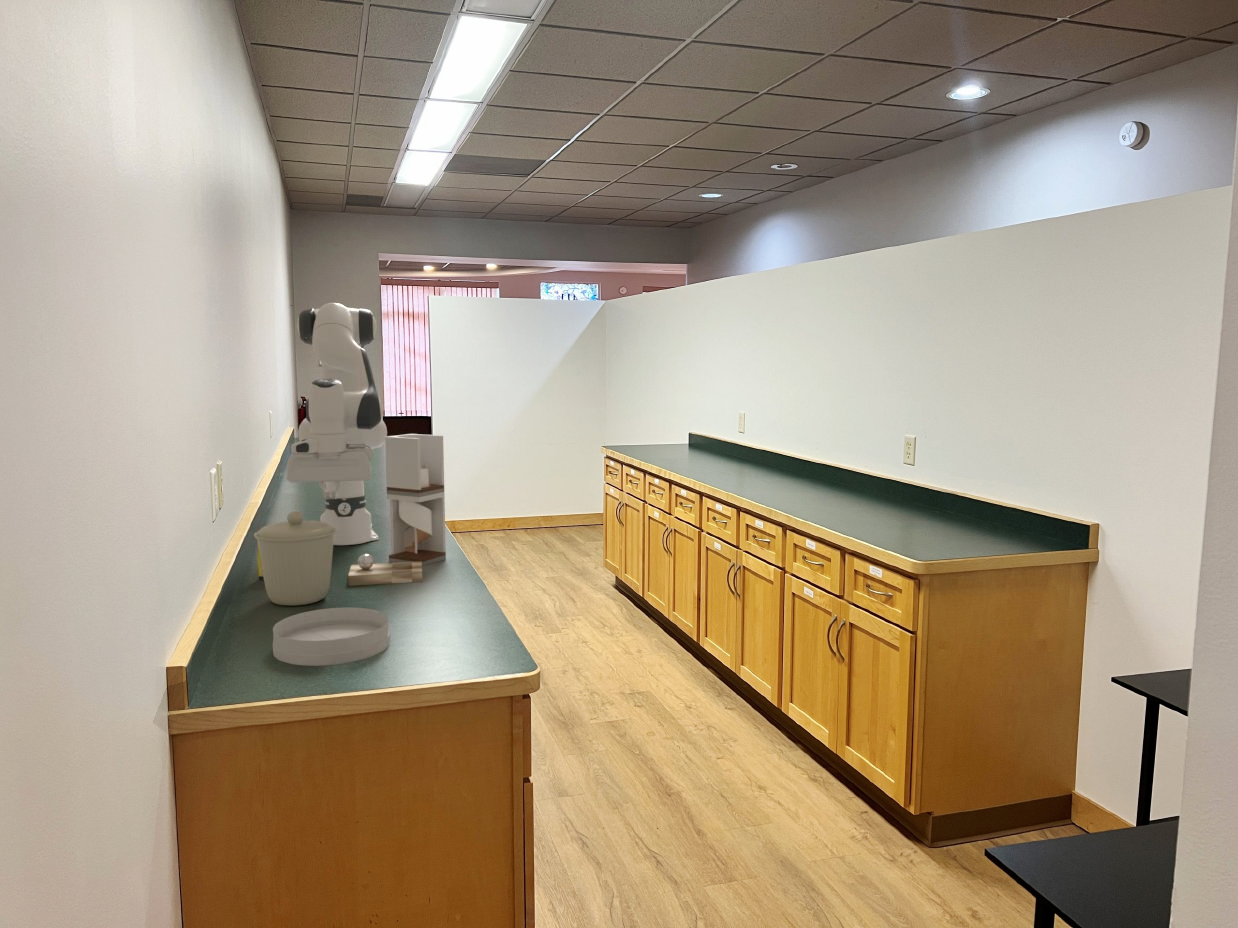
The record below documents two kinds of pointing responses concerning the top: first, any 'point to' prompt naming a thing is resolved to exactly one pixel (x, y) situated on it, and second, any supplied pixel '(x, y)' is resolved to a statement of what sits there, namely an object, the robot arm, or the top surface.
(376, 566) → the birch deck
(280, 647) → the dish
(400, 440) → the display case
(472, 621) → the top surface
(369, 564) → the steel ball
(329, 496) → the robot arm
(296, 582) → the canister
